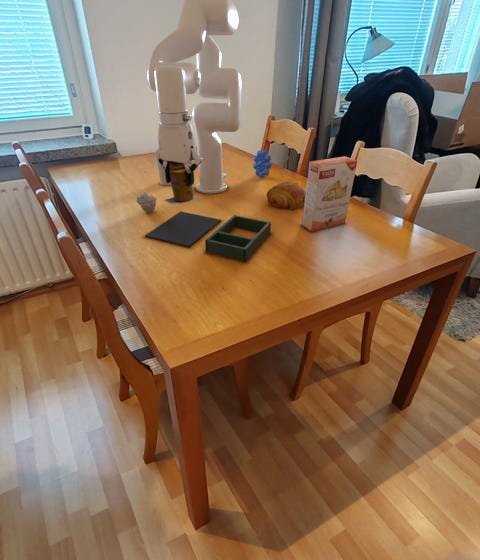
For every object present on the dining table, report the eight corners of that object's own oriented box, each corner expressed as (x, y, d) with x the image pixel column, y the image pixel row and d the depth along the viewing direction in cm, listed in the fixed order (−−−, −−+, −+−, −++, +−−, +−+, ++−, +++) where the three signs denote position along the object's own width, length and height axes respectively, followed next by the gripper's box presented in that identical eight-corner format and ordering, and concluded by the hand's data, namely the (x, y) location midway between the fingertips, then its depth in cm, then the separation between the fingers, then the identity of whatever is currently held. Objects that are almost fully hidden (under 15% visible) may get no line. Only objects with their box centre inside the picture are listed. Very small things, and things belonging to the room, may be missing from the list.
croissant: (260, 208, 133) (258, 188, 128) (285, 191, 141) (284, 172, 136) (291, 218, 125) (290, 197, 120) (316, 200, 133) (316, 180, 128)
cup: (154, 184, 148) (150, 155, 141) (164, 178, 154) (161, 150, 148) (171, 187, 146) (167, 157, 139) (180, 181, 152) (178, 152, 145)
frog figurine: (136, 210, 127) (133, 191, 123) (156, 207, 129) (153, 188, 125) (139, 216, 122) (136, 197, 118) (160, 213, 124) (157, 194, 120)
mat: (180, 213, 125) (180, 211, 124) (221, 221, 119) (220, 219, 119) (145, 237, 110) (145, 235, 109) (189, 247, 104) (189, 246, 104)
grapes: (277, 179, 154) (279, 151, 147) (265, 182, 151) (266, 153, 144) (261, 172, 162) (262, 145, 155) (249, 175, 158) (250, 147, 152)
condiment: (199, 198, 108) (193, 158, 102) (174, 206, 104) (167, 164, 98) (187, 194, 113) (181, 155, 107) (163, 201, 109) (155, 161, 103)
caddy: (234, 226, 116) (234, 214, 114) (270, 233, 111) (270, 222, 109) (205, 252, 102) (204, 240, 99) (245, 262, 97) (245, 249, 95)
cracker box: (312, 233, 112) (320, 166, 100) (301, 225, 116) (307, 161, 104) (346, 224, 117) (358, 159, 105) (334, 217, 122) (344, 154, 110)
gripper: (208, 118, 95) (211, 183, 105) (155, 113, 101) (163, 175, 112) (194, 123, 90) (198, 192, 100) (139, 118, 96) (148, 183, 106)
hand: (180, 182), depth 106 cm, fingers closed on condiment, 6 cm apart
